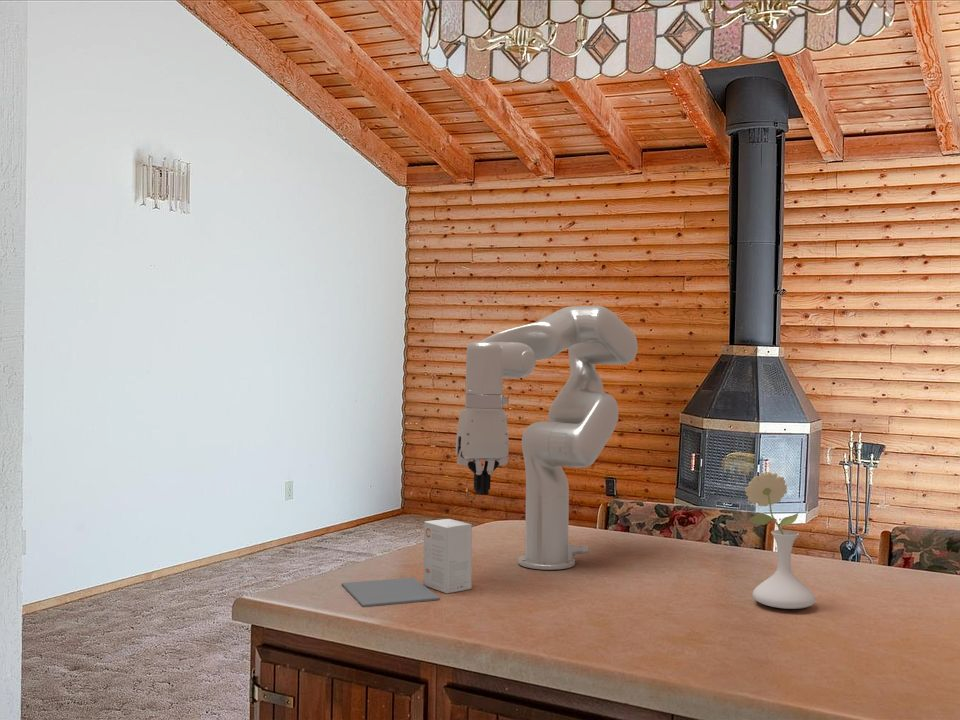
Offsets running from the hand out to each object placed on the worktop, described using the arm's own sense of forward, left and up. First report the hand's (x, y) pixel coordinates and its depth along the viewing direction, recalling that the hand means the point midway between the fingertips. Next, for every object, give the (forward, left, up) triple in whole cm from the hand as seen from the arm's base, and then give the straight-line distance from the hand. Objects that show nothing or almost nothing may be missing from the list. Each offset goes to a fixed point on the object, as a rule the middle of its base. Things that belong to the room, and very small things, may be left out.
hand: (481, 493), depth 191 cm
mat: (+19, 0, -18) cm, 27 cm away
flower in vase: (-47, +33, -19) cm, 61 cm away
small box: (+7, 0, -19) cm, 20 cm away
